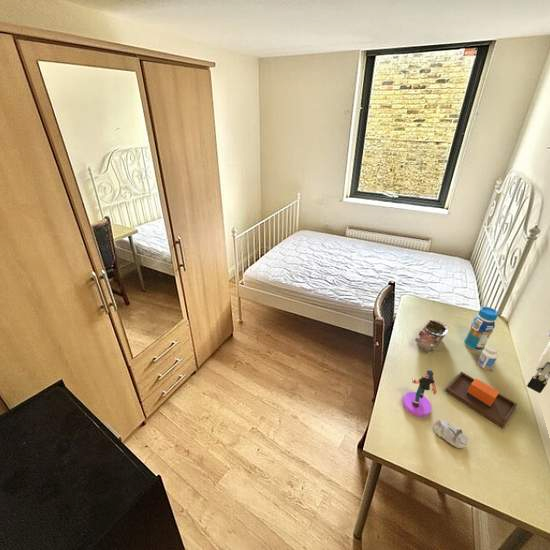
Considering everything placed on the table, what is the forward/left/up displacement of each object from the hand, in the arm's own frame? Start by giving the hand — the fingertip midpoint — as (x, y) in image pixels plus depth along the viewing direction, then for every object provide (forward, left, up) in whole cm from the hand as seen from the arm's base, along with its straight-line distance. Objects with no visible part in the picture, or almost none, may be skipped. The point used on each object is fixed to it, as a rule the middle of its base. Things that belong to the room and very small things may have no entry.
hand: (538, 381), depth 86 cm
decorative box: (+36, -23, -26) cm, 50 cm away
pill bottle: (+16, -30, -26) cm, 43 cm away
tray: (+11, -9, -26) cm, 30 cm away
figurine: (+24, +13, -26) cm, 38 cm away
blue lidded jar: (+24, -40, -26) cm, 54 cm away
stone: (+11, +15, -26) cm, 32 cm away
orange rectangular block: (+11, -9, -26) cm, 29 cm away
